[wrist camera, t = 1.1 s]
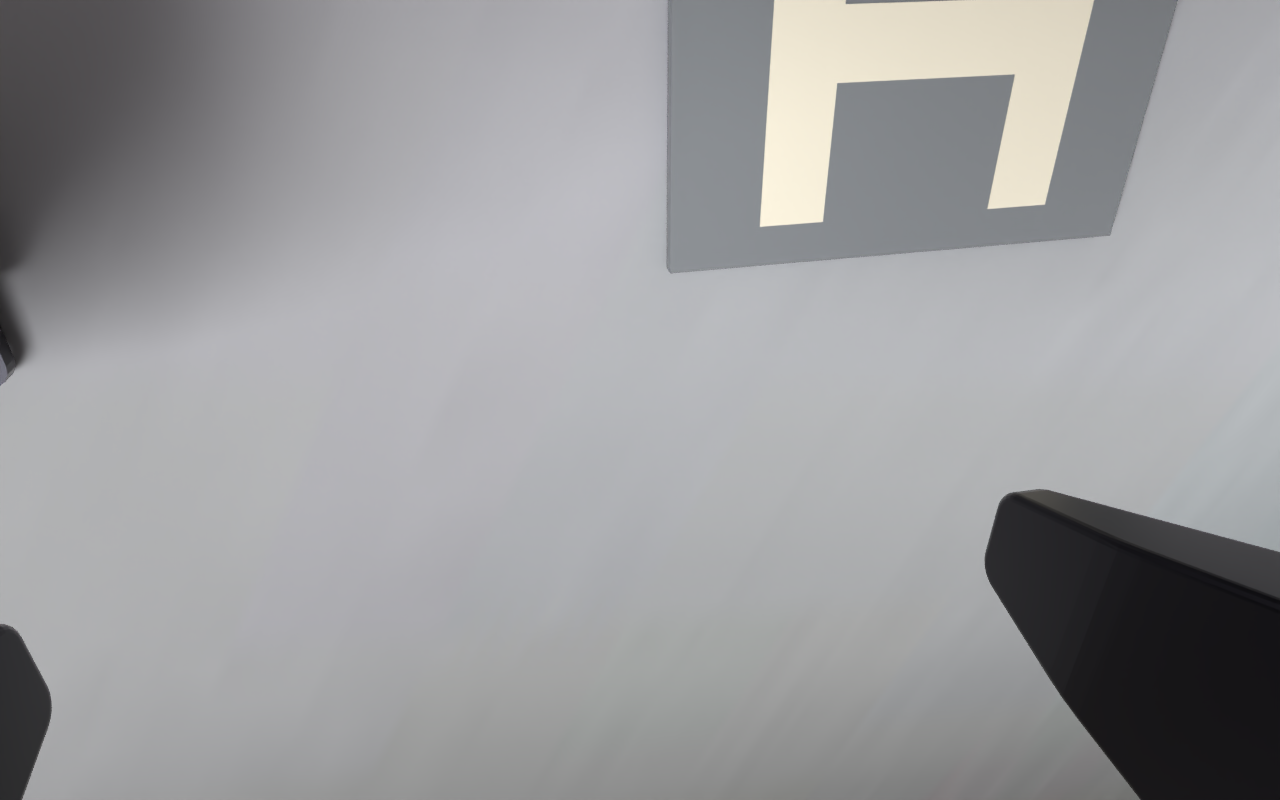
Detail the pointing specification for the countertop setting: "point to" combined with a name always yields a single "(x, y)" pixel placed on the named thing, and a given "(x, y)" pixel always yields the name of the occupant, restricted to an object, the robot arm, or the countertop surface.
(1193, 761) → the robot arm
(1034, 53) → the letter card
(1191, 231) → the countertop surface
